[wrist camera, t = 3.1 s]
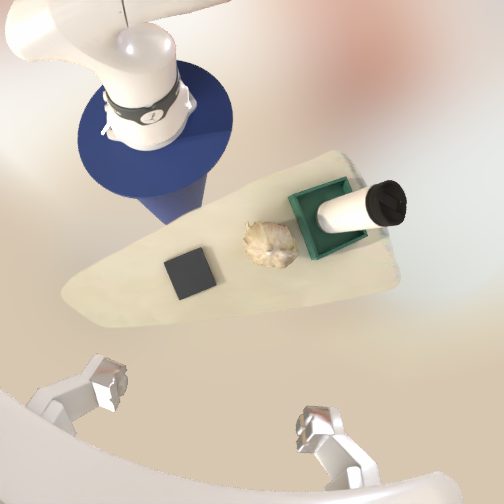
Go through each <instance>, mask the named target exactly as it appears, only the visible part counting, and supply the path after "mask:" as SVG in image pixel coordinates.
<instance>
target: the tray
mask: <svg viewBox="0 0 504 504" xmlns="http://www.w3.org/2000/svg"><path fill="white" fill-rule="evenodd" d="M351 192H352V189H351V187H350V184H349V182H348V179H347V177H343V178H340V179H337V180H334V181H331V182H328V183H325V184H322V185H319V186H316V187H313V188H310V189H307V190H304V191H302V192H299V193H296V194H293V195H291V196H289V197H288V198H289V201H290V203H291V206H292V209H293V211H294V214H295V216H296V219H297V221H298V224H299V227H300V229H301V232H302V235H303V237H304V240H305V243H306V245H307V248H308V251H309V254H310V256H311V259H312V260H318V259H320V258H323V257H325V256H327V255H329V254H331V253H333V252H335V251H337V250H340V249H342V248H344V247H346V246H348V245H350V244H352V243H354V242H356V241H358V240H360V239H362V238H365V237H367V236H368V235H367V231H366V229H365V230H356V231H348V232H340V233H325V232H323V231H322V230H321V229H320V228H319V227H318V225H317V223H316V219H315V214H316V210H317V208H318V206H319V205H320V204H322V203H324V202H326V201H329V200H332V199H335V198H337V197H340V196H343V195H346V194H349V193H351Z"/></svg>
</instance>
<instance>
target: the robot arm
mask: <svg viewBox="0 0 504 504" xmlns="http://www.w3.org/2000/svg"><path fill="white" fill-rule="evenodd" d="M229 1H231V0H15V1H14V2H13V4H12V6H11V8H10V10H9V13H8V16H7V20H6V25H5V35H6V40H7V43H8V45H9V47H10V49H11V50H12V51H13V53H14V54H16V55H17V56H18V57H20V58H22V59H24V60H26V61H29V62H36V61H44V60H59V61H66V62H71V63H75V64H78V65H81V66H83V67H85V68H88V69H89V70H91V71H93V72H94V73H95V74H96V75H97V76H98V78H99V79H100V81H101V82H102V84H103V86H104V87H105V89H106V91H104V92H103V98H104V101H107V105H105V111H106V112H107V125H106V126H105V128H104V129H103V130H102V132H101V134H102V135H103V134H104V133H105V131H106V130H107V136H108V138H109V139H110V140H114V141H121V142H123V143H125V144H126V145H127V146H129V147H131V148H133V149H136V150H141V151H151V150H156V149H160V148H162V147H165V146H167V145H168V144H170V143H172V142H173V141H174V140H175V139H176V138H177V137H178V136H179V135H180V134H181V133H182V131H183V129H184V128H185V125H186V122H187V119H188V117H189V115H190V114H191V113H192V112H193V111H194V110H195V109H196V107H197V102H196V100H195V99H194V97H193V96H192V94H191V93H190V92H189V90H188V87H187V86H185V85H184V83H183V82H182V80H181V79H180V74H179V70H178V68H177V66H176V45H175V42H174V39H173V38H172V36H171V35H170V34H169V33H168V32H167V31H165V30H164V29H163V28H161V27H160V26H158V25H156V24H153V23H148V22H149V21H153V20H157V19H161V18H166V17H171V16H176V15H181V14H187V13H191V12H194V11H198V10H201V9H205V8H208V7H212V6H215V5H219V4H222V3H226V2H229ZM189 100H190V101H189ZM111 129H113V130H111ZM126 371H127V369H126V365H123V364H121V363H118V362H115V361H113V360H111V359H108V358H106V357H104V356H101V355H99V354H95V355H94V356H93V357H92V359H91V360H90V361H89V363H88V364H87V366H86V367H85V368H84V370H83V371H82V372H81V374H80V375H74V376H72V377H69V378H66V379H64V380H61V381H58V382H56V383H53V384H50V385H47V386H45V387H42V388H39V389H38V390H37V391H36V392H35V394H34V395H33V397H32V398H31V399H30V401H29V402H28V403H27V405H26V406H24V405H23V404H21V403H20V402H19V401H17V400H16V399H14V398H13V397H12V396H11V395H9V394H8V393H7V392H6V391H4V390H3V389H2V388H1V387H0V504H464V502H463V498H462V494H461V491H460V488H459V486H458V484H457V483H456V482H455V481H454V480H452V479H451V478H450V477H448V476H447V475H445V474H444V473H442V472H440V471H436V472H432V473H429V474H425V475H422V476H418V477H414V478H410V479H406V480H402V481H398V482H392V483H387V484H381V479H380V475H379V471H378V467H377V464H376V463H375V462H374V461H373V460H372V459H371V458H370V457H369V456H368V455H367V454H366V453H365V452H364V451H363V450H362V449H361V448H360V447H359V446H358V445H357V444H356V443H355V442H354V441H353V440H352V439H351V438H350V437H349V436H348V435H345V434H344V429H343V425H342V420H341V416H340V411H339V409H338V408H331V407H318V406H306V407H305V408H304V410H303V413H304V414H302V415H300V416H299V418H298V420H297V423H296V434H297V435H298V436H299V438H298V440H297V441H296V442H297V452H300V453H315V454H314V455H315V456H316V457H317V459H318V460H319V462H320V463H321V464H322V466H323V467H324V468H325V470H326V471H327V473H328V474H329V475H330V477H331V478H332V479H333V481H332V482H330V483H329V484H327V485H326V486H325V487H324V491H316V492H285V491H265V490H253V489H244V488H236V487H229V486H223V485H217V484H211V483H205V482H201V481H196V480H191V479H187V478H183V477H179V476H175V475H171V474H168V473H165V472H161V471H158V470H155V469H151V468H148V467H145V466H142V465H139V464H137V463H134V462H131V461H128V460H126V459H123V458H120V457H118V456H116V455H113V454H111V453H108V452H106V451H104V450H102V449H99V448H97V447H95V446H93V445H91V444H89V443H86V442H84V441H83V440H81V439H79V438H77V437H75V435H76V431H75V429H74V427H73V425H72V423H71V422H73V421H74V420H76V419H78V418H80V417H82V416H83V415H85V414H87V413H88V412H90V411H92V410H94V409H95V408H97V407H98V405H99V406H101V407H104V408H106V409H109V410H111V411H114V412H115V411H116V409H117V407H118V405H119V403H120V398H119V397H120V396H122V395H124V393H125V391H126V388H127V385H128V378H127V376H126V374H125V373H126Z"/></svg>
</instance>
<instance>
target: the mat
mask: <svg viewBox="0 0 504 504" xmlns="http://www.w3.org/2000/svg"><path fill="white" fill-rule="evenodd" d="M164 265H165V267H166V270H167V272H168V274H169V277H170V279H171V282H172V284H173V286H174V289H175V291H176V293H177V296H178V298H179V300H181V299H184V298H186V297H189V296H191V295H193V294H196V293H198V292H201V291H203V290H205V289H208V288H210V287H213V286H215V285H216V283H215V280H214V278H213V276H212V273H211V271H210V268H209V266H208V263H207V261H206V258H205V256H204V253H203V251H202V248H198V249H196V250H193V251H191V252H188V253H186V254H184V255H181V256H179V257H176V258H174V259H171V260H169V261H167V262H164Z"/></svg>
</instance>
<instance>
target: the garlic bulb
mask: <svg viewBox="0 0 504 504" xmlns="http://www.w3.org/2000/svg"><path fill="white" fill-rule="evenodd" d="M246 226H247V233H246V237H245V238H244V239H243V244H244V248H245V251H246V252H247V254H248V256H249V257H250V259H251V260H252V261H253V262H254V263H256V264H258V265H262V266H265V267H276V268H278V269H282V268H285V267H287V266H288V265H289V264H291V263H292V262H293V261H294V260H295V258H296V257H297V256H298V254H299V251H298V249H297V245H296V240H295V239H294V238H292V236H291V233H290V231H289V229H288V228H287V226H281V225H277V224H275V223H272V222H265V223H261V222H259V221H258V222H255V223H254V225H253V226H252V227H250V226H249V222H247V223H246Z"/></svg>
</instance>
